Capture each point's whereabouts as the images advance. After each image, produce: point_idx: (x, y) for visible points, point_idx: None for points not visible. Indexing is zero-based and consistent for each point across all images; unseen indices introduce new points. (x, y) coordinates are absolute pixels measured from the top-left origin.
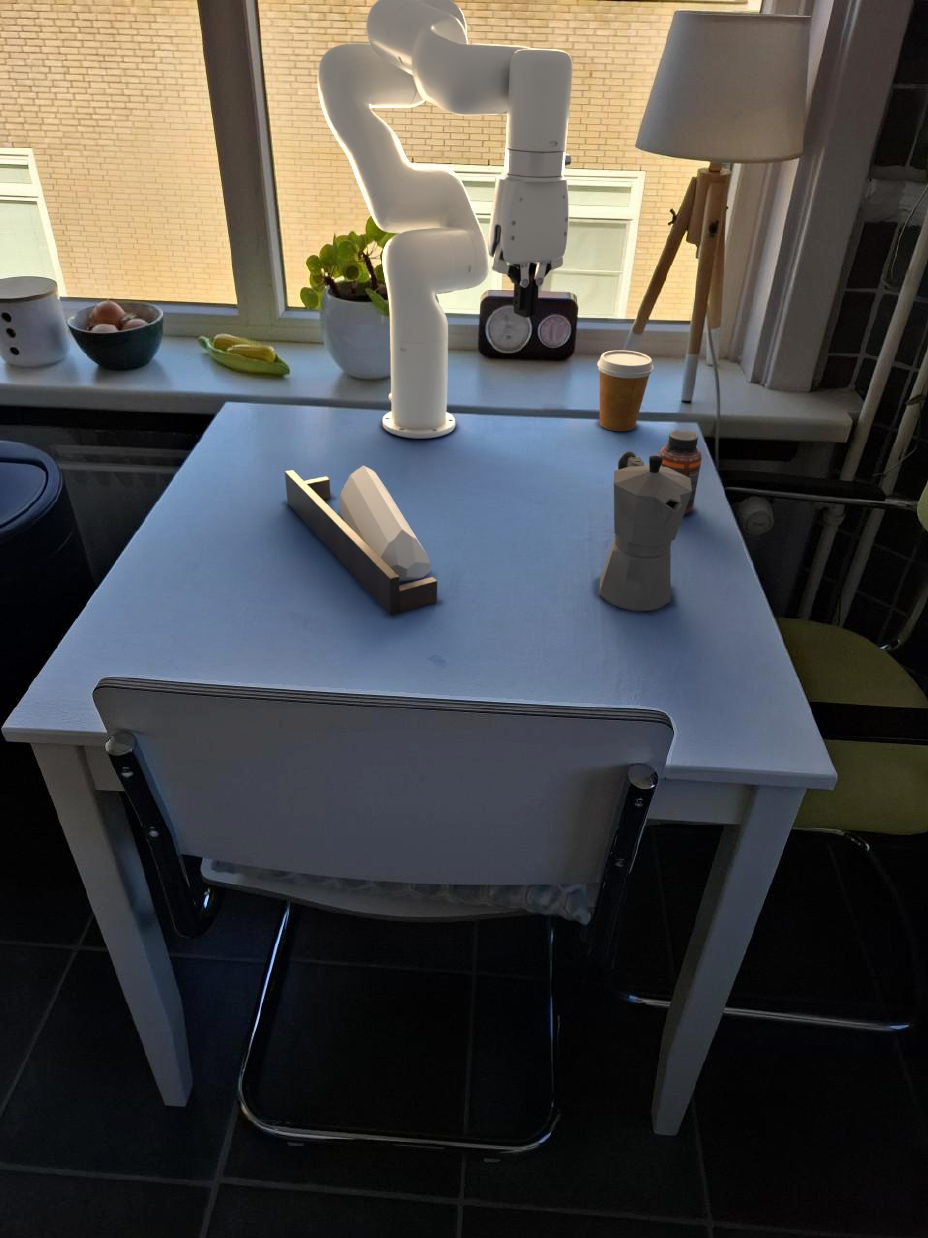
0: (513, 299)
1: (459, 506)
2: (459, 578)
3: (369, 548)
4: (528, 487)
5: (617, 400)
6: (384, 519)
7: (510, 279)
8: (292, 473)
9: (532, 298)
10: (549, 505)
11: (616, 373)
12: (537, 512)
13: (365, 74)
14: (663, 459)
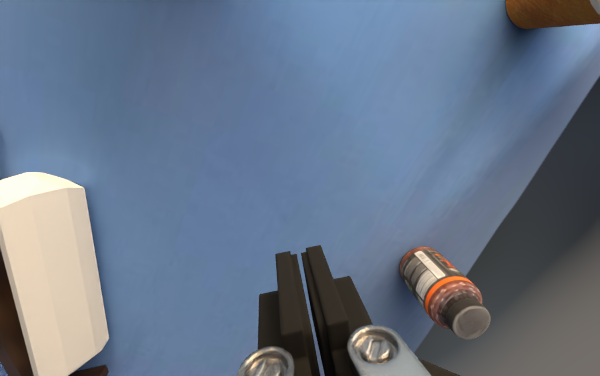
0: (259, 312)
1: (183, 201)
2: (140, 341)
3: (14, 369)
4: (290, 174)
5: (552, 13)
6: (27, 344)
7: (238, 372)
8: None
9: (324, 373)
10: (293, 226)
11: (595, 1)
12: (271, 238)
13: None
14: (427, 307)
